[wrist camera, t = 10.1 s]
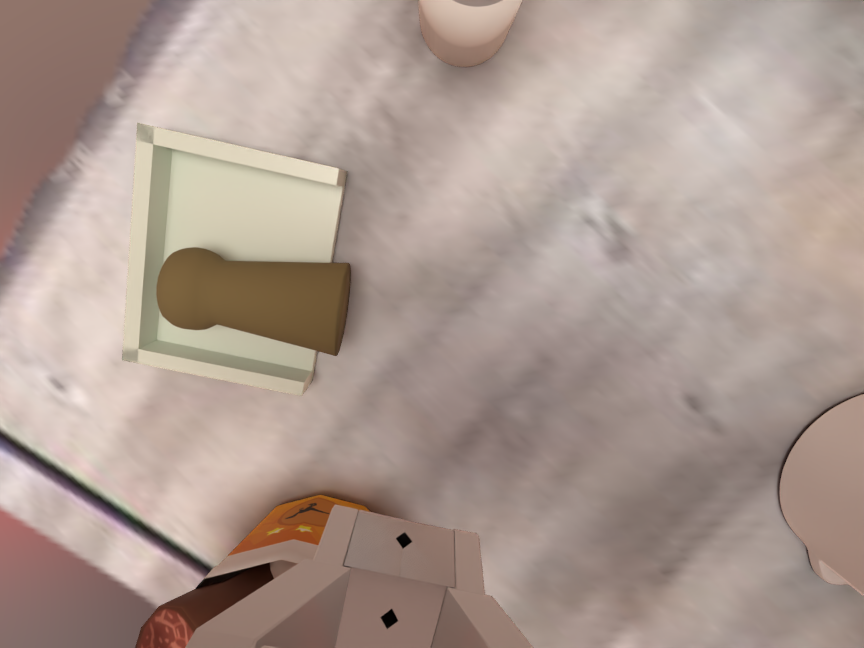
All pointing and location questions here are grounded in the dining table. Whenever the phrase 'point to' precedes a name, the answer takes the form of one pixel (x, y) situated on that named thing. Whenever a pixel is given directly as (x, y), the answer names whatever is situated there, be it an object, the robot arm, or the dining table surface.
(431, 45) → the salt shaker
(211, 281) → the brown chess pawn
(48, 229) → the dining table surface
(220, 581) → the bucket of meat
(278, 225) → the tray
